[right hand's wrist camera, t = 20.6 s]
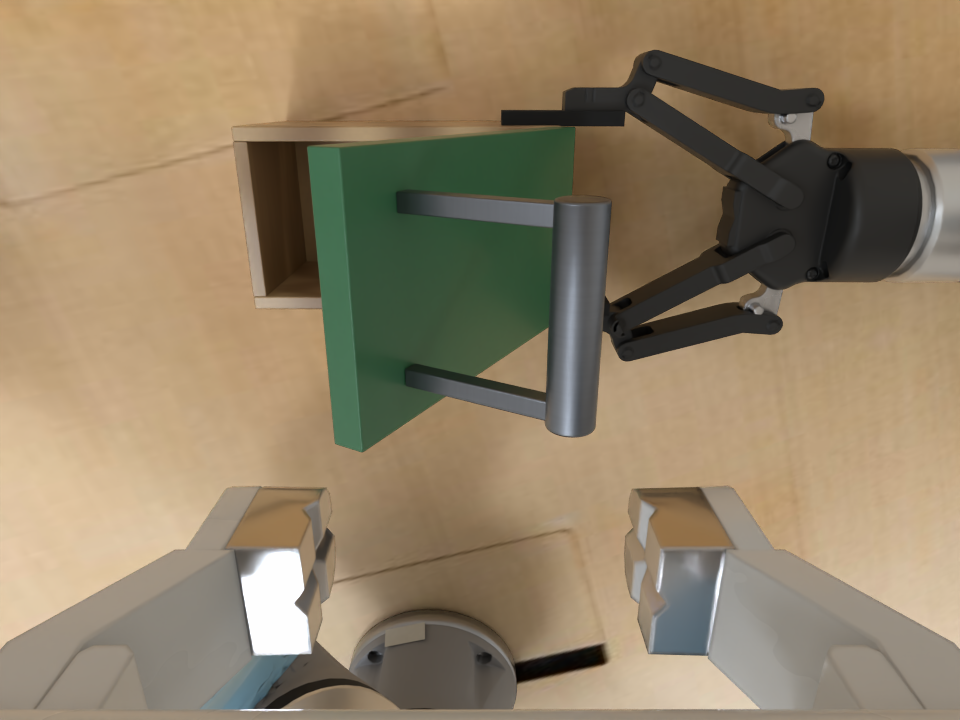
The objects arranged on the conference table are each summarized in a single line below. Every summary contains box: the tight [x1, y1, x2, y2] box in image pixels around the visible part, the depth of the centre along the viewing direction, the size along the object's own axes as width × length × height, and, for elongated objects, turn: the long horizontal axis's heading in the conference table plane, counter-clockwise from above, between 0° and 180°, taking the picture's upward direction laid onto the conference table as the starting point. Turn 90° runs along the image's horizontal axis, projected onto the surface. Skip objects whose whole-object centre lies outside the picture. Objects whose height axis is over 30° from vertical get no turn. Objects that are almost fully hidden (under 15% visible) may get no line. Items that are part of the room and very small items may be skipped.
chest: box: [232, 121, 561, 309], centre depth 40 cm, size 17×10×10 cm, turn 90°
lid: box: [307, 127, 612, 452], centre depth 26 cm, size 18×10×8 cm
